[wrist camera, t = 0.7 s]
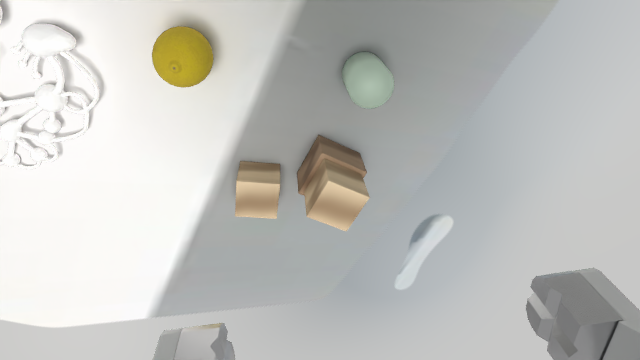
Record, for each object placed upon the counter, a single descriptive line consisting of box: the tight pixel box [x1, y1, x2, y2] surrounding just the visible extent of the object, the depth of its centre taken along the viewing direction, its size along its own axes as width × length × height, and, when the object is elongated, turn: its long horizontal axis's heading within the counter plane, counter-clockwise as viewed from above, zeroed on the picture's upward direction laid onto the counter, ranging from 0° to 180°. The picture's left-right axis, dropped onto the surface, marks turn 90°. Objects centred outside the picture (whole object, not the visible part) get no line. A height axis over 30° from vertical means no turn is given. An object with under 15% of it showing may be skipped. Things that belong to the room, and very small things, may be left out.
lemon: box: [152, 26, 213, 87], centre depth 38 cm, size 6×6×8 cm
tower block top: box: [304, 158, 370, 231], centre depth 44 cm, size 5×5×5 cm
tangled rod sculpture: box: [0, 6, 100, 169], centre depth 41 cm, size 19×14×4 cm
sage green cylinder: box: [342, 52, 394, 109], centre depth 43 cm, size 5×5×5 cm
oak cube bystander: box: [235, 161, 280, 219], centre depth 49 cm, size 5×5×5 cm
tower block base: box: [297, 135, 367, 196], centre depth 48 cm, size 6×6×5 cm
